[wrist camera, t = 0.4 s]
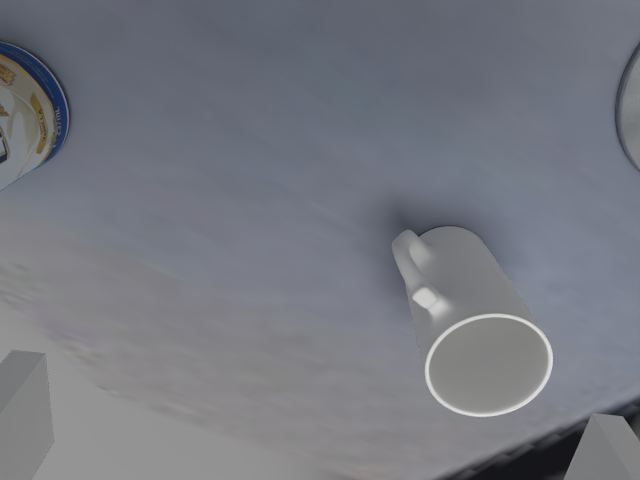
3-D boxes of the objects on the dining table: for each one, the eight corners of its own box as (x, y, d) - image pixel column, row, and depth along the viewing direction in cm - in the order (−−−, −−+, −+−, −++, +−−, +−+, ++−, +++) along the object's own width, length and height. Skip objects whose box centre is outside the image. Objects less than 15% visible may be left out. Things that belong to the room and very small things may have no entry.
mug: (511, 266, 41) (578, 370, 30) (438, 320, 43) (477, 436, 32) (422, 170, 38) (460, 246, 27) (348, 233, 40) (357, 328, 29)
